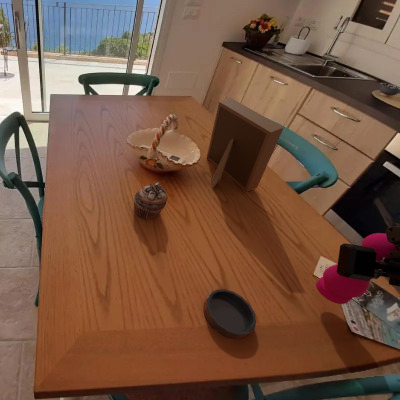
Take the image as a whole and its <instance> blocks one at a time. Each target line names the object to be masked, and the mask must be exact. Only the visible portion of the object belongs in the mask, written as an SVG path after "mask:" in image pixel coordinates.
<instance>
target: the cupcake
mask: <svg viewBox="0 0 400 400" xmlns="http://www.w3.org/2000/svg"><path fill="white" fill-rule="evenodd" d="M168 200H169V197H168V195H167V192H166V190H165V188H163V187H162V185H161V183H160V182H156V183H155V185H154V184H153V185H152V184H148V185H144V186H142V187H141V188H140V189H138V190H137V192H136V193H134V196H133V209H134V210H133V211H134V214H135V215H137V216H138V218H140V219H143V220H149V221H150V220H153V219H156V218H158V217H159V215H160V214H161V213H162V212H163V210H164V208H165V207H166V205H167V201H168Z"/></svg>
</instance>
